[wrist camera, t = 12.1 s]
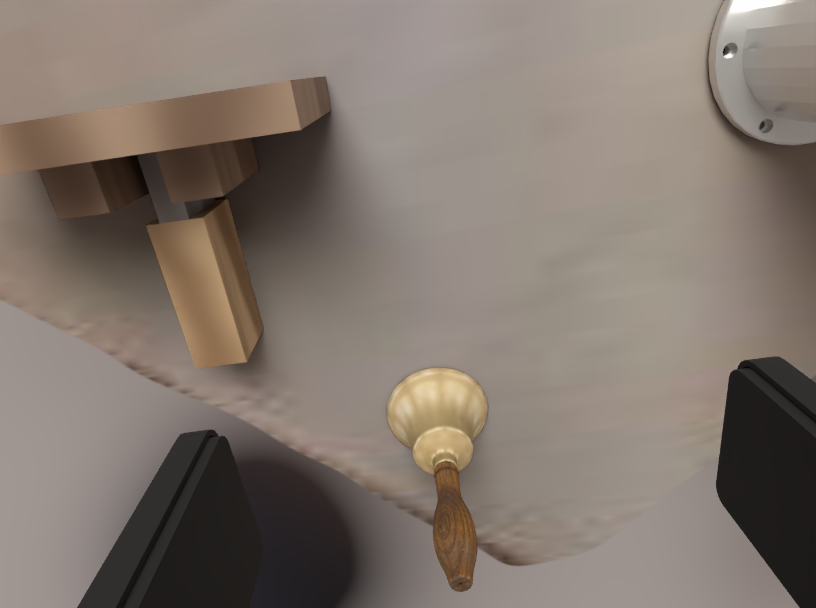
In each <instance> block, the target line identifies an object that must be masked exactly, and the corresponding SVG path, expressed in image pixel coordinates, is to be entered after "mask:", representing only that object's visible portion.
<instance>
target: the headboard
mask: <svg viewBox="0 0 816 608" xmlns="http://www.w3.org/2000/svg"><path fill="white" fill-rule="evenodd" d="M329 111H331V105H330V99H329V94H328V89H327V83H326V78H325V77H316V78H307V79H299V80H290V81H284V82H277V83H271V84H264V85H258V86H251V87H245V88H238V89H232V90H225V91H219V92H212V93H206V94H199V95H193V96H186V97H180V98H173V99H167V100H160V101H154V102H147V103H141V104H134V105H128V106H121V107H115V108H108V109H102V110H95V111H89V112H83V113H76V114H70V115H63V116H57V117H50V118H44V119H37V120H31V121H24V122H18V123H11V124H5V125H0V175H5V174H12V173H19V172H25V171H32V170H39V173H40V175H41V178H42V180H43V182H44V185H45V187H46V190H47V192H48V194H49V197H50V199H51V202H52V204H53V206H54V209H55V211H56V213H57V216H58V218H59V220H64V219H71V218H78V217H85V216H92V215H98V214H105V213H111V212H113V211H115V210H117V209H119V208H120V207H122V206H124V205H126V204H128V203H130V202H132V201H134V200H136V199H138V198H140V197H142V196H144V195H146V194H148V193H149V190H148V187H147V184H146V181H145V178H144V175H143V172H142V169H141V166H140V163H139V160H138V157H137V155H140V154H145V153H151V152H155V153H156V156H157V159H158V162H159V165H160V168H161V171H162V174H163V177H164V181H165V184H166V187H167V190H168V193H169V196H170V199H171V202H172V204H173V203H180V202H187V201H194V200H201V199H208V198H214V197H221V196H224V195H226V194H227V193H228V192H230V191H231V190H233V189H234V188H235V187H237V186H238V185H239V184H241V183H242V182H243V181H245V180H246V179H247V178H249V177H250V176H251V175H253V174H254V173H256V172H257V171H258V170H259V167H258V163H257V159H256V155H255V151H254V147H253V143H252V139H251V137H258V136H264V135H271V134H278V133H284V132H291V131H298V130H302V129H303V128H305V127H306V126H308V125H309V124H311V123H312V122H314V121H316V120H317V119H319V118H320V117H322V116H323V115H325V114H326V113H328V112H329Z"/></svg>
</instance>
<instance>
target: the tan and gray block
mask: <svg viewBox="0 0 816 608" xmlns="http://www.w3.org/2000/svg"><path fill="white" fill-rule="evenodd" d="M137 157H138V160H139V163H140V166H141V169H142V172H143V175H144V178H145V181H146V184H147V187H148V190H149V193H150V196H151V199H152V202H153V205H154V208H155V211H156V214H157V217H158V218H157V219H156V220H154V221H153V222H151V223H149V224H148V225H146V227H147V230H148V233H149V236H150V239H151V242H152V244H153V247H154V250H155V253H156V256H157V259H158V262H159V265H160V267H161V270H162V273H163V276H164V279H165V282H166V285H167V288H168V290H169V293H170V296H171V299H172V302H173V305H174V308H175V311H176V313H177V316H178V319H179V322H180V325H181V328H182V331H183V334H184V336H185V339H186V342H187V345H188V348H189V351H190V354H191V357H192V359H193V362H194V365H195V368H196V369H198V368H206V367H213V366H221V365H229V364H236V363H244V362H247V361H248V359H249V357H250V355H251V353H252V351H253V349H254V347H255V345H256V343H257V341H258V339H259V337H260V335H261V333H262V331H263V329H264V328H263V324H262V321H261V317H260V314H259V310H258V306H257V303H256V299H255V296H254V292H253V288H252V285H251V281H250V278H249V274H248V270H247V267H246V263H245V260H244V256H243V252H242V249H241V245H240V242H239V238H238V234H237V231H236V227H235V224H234V220H233V216H232V213H231V209H230V206H229V202H228V199H222V200H215V197H214V198H208V199H201V200H194V201H187V202H180V203H173V204H172V202H171V199H170V196H169V193H168V190H167V187H166V184H165V181H164V177H163V174H162V171H161V168H160V165H159V162H158V159H157V156H156V153H155V152H151V153H145V154H140V155H137Z"/></svg>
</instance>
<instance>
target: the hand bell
mask: <svg viewBox="0 0 816 608" xmlns="http://www.w3.org/2000/svg"><path fill="white" fill-rule="evenodd" d="M487 414H488V402H487V398H486V395H485V393H484V391H483V389H482V388H481V386H480V385H479V384H478V383H477V382H476V381H475V380H474V379H473V378H471V377H470V376H468V375H467V374H465V373H463V372H460V371H458V370H455V369H450V368H429V369H424V370H421V371H418V372H415V373H413V374H411V375H410V376H408V377H407V378H405V379H404V380H403V381H402V382H401V383H399V384H398V385H397V387H396V388H395V389H394V390H393V392H392V394H391V396H390V398H389V400H388V405H387V420H388V423H389V426H390V428H391V430H392V432H393V433H394V434H395V436H396V437H397V438H398V439H399V440H400V441H401V442H402V443H404V444H405V445H406V446H408V447H410V448H411V449H412V452H413V457H414V460H415V462H416V463H417V465H418V466H419V467H420V468H421V469H422V470H424V471H425V472H427V473H429V474H432V475H434V477H435V482H436V488H437V494H438V502H437V507H436V510H435V514H434V520H433V538H434V546H435V551H436V554H437V557H438V560H439V562H440V564H441V566H442V568H443V570H444V572H445V574H446V576H447V579H448V582H449V585H450V586H451V588H452V589H453V590H455V591H459V592H463V591H466V590H468V589H470V588H471V586H472V582H473V571H474V566H475V562H476V556H477V537H476V531H475V527H474V523H473V520H472V517H471V514H470V512H469V510H468V508H467V506H466V505H465V503H464V501H463V499H462V497H461V492H460V483H459V471H460V470H462V469H463V468H464V467H465V466H466V465H467V464H468V463H469V462H470V460H471V457H472V454H473V440H474V439H475V437H476V436H477V435H478V434H479V433H480V431H481V430H482V428H483V426H484V424H485V421H486V419H487Z"/></svg>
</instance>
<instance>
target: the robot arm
mask: <svg viewBox="0 0 816 608" xmlns="http://www.w3.org/2000/svg"><path fill="white" fill-rule="evenodd" d="M724 48H725V53H724V54H723V49H724ZM708 61H709V79H710V83H711V87H712V91H713V95H714V98H715V100H716V102H717V104H718V106H719V108H720V110H721V112H722V113H723V114H724V116H725V117H726V118H727V119H728V120H729V121H730V123H731V124H732V125H733V126H734V127H736V128H737V129H739V130H740V131H741V132H743V133H744V134H746V135H748V136H750V137H753V138H755V139H757V140H760V141H764V142H769V143H773V144H778V145H802V144H809V143H815V142H816V0H724V2H723V4H722V6H721V9H720V11H719V13H718V15H717V19H716V22H715V25H714V29H713V32H712V36H711V42H710V50H709V58H708ZM760 123H761V124H760ZM759 126H760V127H759ZM716 488H717V493H718V496H719V498H720V501H721V503H722V504H723V506H724V507H725V508H726V510H727V511H728V512H729V514H730V515H731V516H732V518H733V519H734V520H735V522H736V523H737V524H738V526H739V527H740V528H741V530H742V531H743V532H744V534H745V535H746V536H747V538H748V539H749V540H750V542H751V543H752V544H753V546H754V547H755V548H756V550H757V551H758V552H759V554H760V555H761V556H762V558H763V559H764V560H765V562H766V563H767V564H768V566H769V567H770V568H771V570H772V571H773V572H774V574H775V575H776V576H777V578H778V579H779V580H780V582H781V583H782V584H783V586H784V587H785V588H786V589H787V591H788V592H789V594H790V595H791V596H792V598H793V599H794V601H795V602H796V603H797V604H798V606H799V607H800V608H816V383H815V382H813V381H812V380H811V379H809V378H808V377H807V376H805V375H804V374H803V373H801V372H800V371H799V370H797V369H796V368H795V367H793V366H792V365H791V364H789V363H788V362H787V361H785V360H784V359H782V358H780V357H767V358H759V359H751V360H744V361H742V362H741V363H740V364H739V366H738V369H737V370H733V371H732V372H731V373H730V376H729V383H728V391H727V399H726V407H725V415H724V423H723V431H722V440H721V448H720V456H719V464H718V472H717V480H716ZM262 556H263V544H262V538H261V535H260V532H259V529H258V526H257V524H256V521H255V518H254V515H253V512H252V509H251V506H250V504H249V500H248V498H247V495H246V492H245V489H244V486H243V483H242V480H241V477H240V474H239V472H238V469H237V466H236V463H235V460H234V457H233V454H232V452H231V448H230V445H229V442H228V440H227V438H226V437H225V436H218V434H217V433H216V432H215V431H214V430H204V431H196V432H189V433H183V434H180V436H179V437H178V438H177V440H176V442H175V443H174V445H173V446H172V448H171V450H170V452H169V453H168V455H167V457H166V459H165V460H164V462H163V464H162V465H161V467H160V468H159V470H158V472H157V474H156V475H155V477H154V479H153V480H152V482H151V484H150V486H149V487H148V489H147V490H146V492H145V494H144V496H143V497H142V499H141V501H140V502H139V504H138V506H137V507H136V509H135V511H134V513H133V514H132V516H131V518H130V519H129V521H128V523H127V524H126V526H125V528H124V530H123V531H122V533H121V534H120V536H119V538H118V540H117V541H116V543H115V545H114V546H113V548H112V550H111V551H110V553H109V555H108V557H107V558H106V560H105V562H104V563H103V565H102V567H101V568H100V570H99V572H98V573H97V575H96V577H95V579H94V580H93V582H92V583H91V585H90V587H89V589H88V590H87V592H86V594H85V595H84V597H83V599H82V600H81V602H80V604H79V605H78V607H77V608H249V605H250V601H251V598H252V594H253V590H254V587H255V583H256V579H257V576H258V572H259V568H260V564H261V561H262Z"/></svg>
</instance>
